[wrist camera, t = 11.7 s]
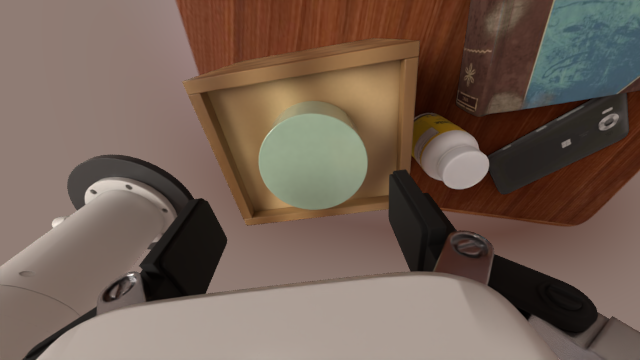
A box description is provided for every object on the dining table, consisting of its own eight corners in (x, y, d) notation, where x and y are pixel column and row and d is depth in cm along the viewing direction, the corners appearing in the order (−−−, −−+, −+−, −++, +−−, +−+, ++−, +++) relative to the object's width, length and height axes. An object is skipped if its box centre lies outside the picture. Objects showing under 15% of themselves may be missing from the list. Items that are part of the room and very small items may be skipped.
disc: (280, 191, 19) (274, 215, 17) (255, 109, 15) (242, 123, 13) (363, 181, 19) (369, 203, 16) (357, 92, 15) (365, 104, 12)
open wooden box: (271, 159, 31) (246, 226, 20) (241, 61, 24) (181, 81, 14) (375, 145, 29) (407, 207, 19) (373, 38, 23) (420, 40, 12)
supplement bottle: (455, 126, 28) (511, 163, 20) (422, 159, 31) (461, 204, 22) (424, 102, 26) (471, 132, 18) (392, 139, 29) (422, 180, 21)
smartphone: (622, 133, 29) (630, 136, 28) (498, 193, 34) (502, 197, 33) (619, 83, 25) (627, 84, 25) (482, 158, 30) (486, 160, 30)
